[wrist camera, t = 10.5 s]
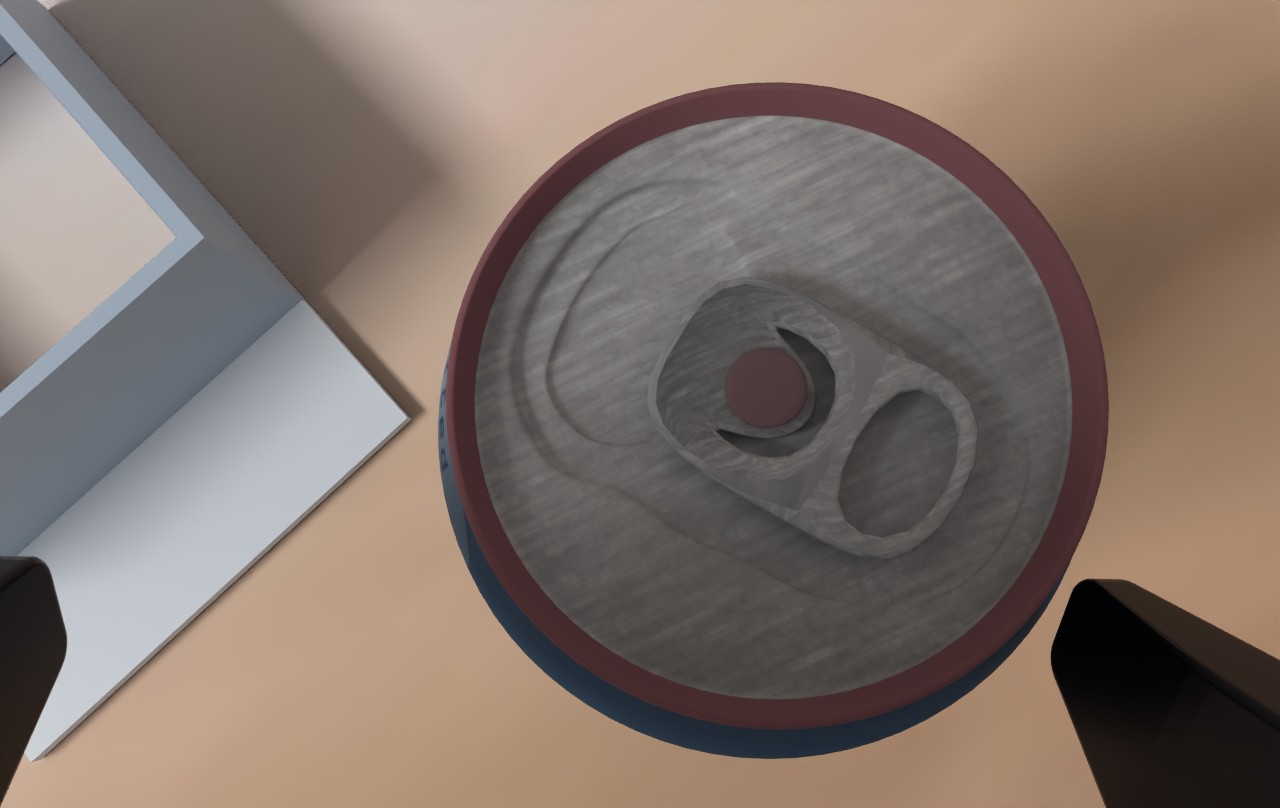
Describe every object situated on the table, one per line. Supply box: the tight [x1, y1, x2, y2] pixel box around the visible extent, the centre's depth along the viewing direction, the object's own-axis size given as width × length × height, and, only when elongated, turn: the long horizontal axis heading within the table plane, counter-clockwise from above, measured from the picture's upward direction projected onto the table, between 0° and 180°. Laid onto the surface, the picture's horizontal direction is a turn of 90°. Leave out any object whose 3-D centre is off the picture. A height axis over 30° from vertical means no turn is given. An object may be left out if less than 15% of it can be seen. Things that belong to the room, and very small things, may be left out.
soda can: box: [438, 83, 1109, 759], centre depth 13 cm, size 7×7×12 cm
